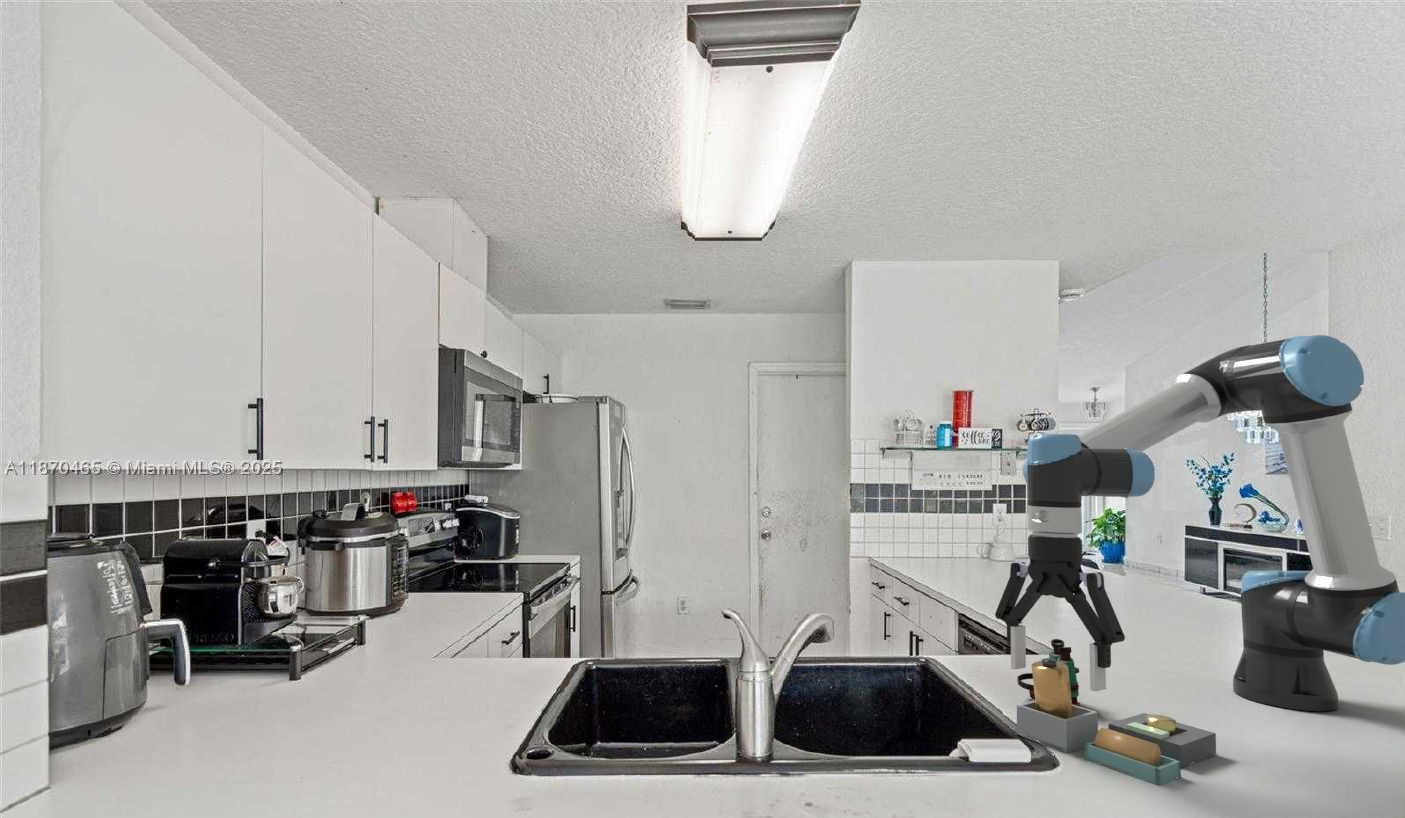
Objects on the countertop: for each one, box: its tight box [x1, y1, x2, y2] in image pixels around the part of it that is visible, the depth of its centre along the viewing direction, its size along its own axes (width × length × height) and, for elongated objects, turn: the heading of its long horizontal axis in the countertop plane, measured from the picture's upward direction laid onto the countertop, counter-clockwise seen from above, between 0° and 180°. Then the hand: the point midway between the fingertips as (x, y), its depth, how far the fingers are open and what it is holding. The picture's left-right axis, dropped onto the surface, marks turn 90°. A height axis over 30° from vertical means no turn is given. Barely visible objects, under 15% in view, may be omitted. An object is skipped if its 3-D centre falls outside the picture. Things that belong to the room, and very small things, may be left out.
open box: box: [1016, 700, 1099, 754], centre depth 112 cm, size 8×8×4 cm
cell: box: [1031, 657, 1073, 719], centre depth 112 cm, size 5×5×11 cm
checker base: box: [1107, 712, 1217, 769], centre depth 109 cm, size 10×10×4 cm
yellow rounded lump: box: [1147, 713, 1177, 737], centre depth 109 cm, size 4×4×2 cm
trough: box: [1083, 727, 1182, 786], centre depth 102 cm, size 6×10×4 cm, turn 32°
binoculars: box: [1016, 638, 1081, 707], centre depth 130 cm, size 9×11×10 cm
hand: (1056, 678), depth 113 cm, fingers open, 12 cm apart
